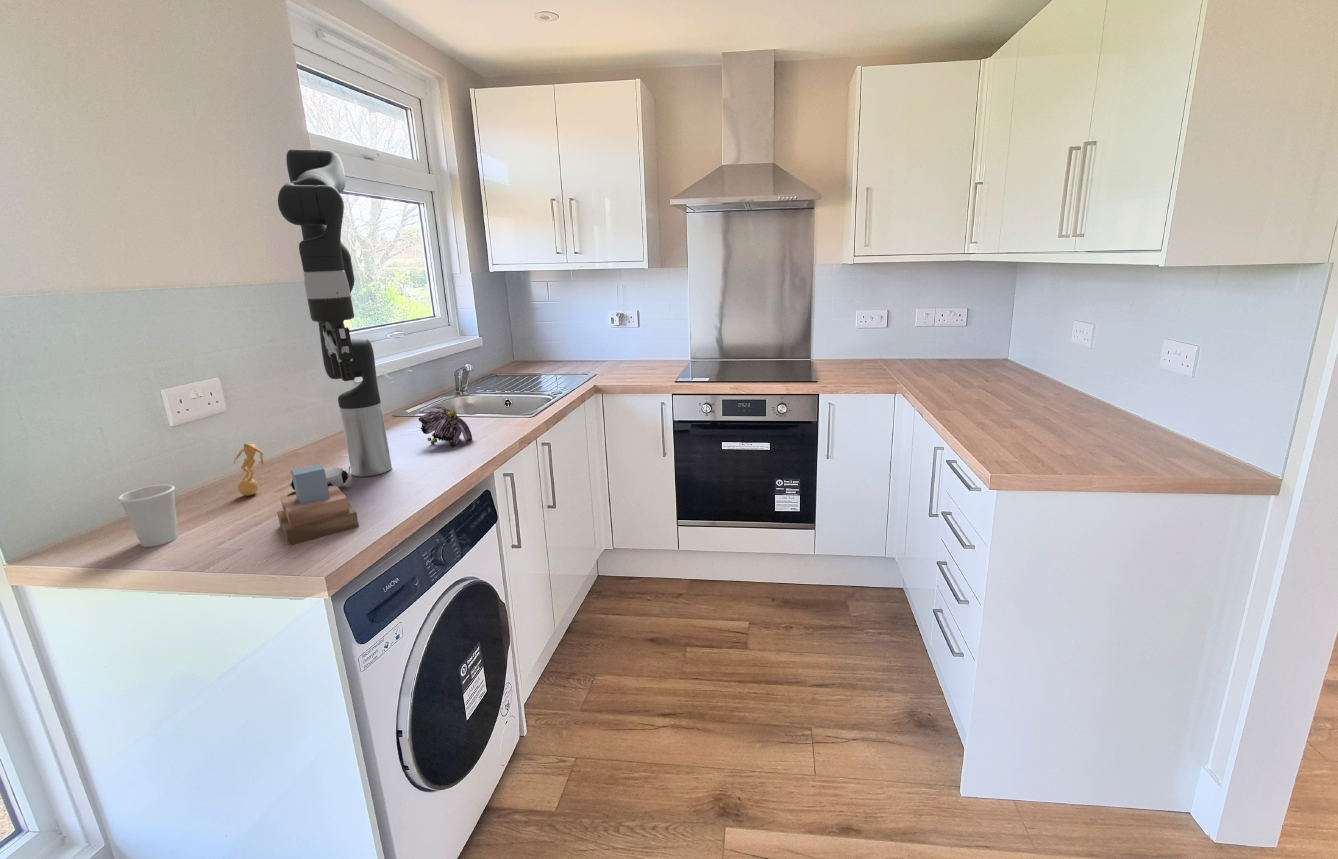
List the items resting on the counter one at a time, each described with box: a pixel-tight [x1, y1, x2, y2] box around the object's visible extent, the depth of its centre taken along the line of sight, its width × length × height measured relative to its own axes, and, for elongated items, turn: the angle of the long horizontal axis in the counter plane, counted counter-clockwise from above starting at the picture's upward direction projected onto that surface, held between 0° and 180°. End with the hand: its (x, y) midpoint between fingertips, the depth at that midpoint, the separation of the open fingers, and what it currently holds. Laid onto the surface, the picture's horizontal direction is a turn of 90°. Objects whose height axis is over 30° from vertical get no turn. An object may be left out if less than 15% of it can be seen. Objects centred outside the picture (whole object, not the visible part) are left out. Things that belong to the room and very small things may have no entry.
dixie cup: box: [117, 484, 179, 548], centre depth 117 cm, size 8×8×10 cm
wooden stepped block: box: [276, 485, 360, 546], centre depth 121 cm, size 12×12×6 cm
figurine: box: [233, 442, 264, 497], centre depth 141 cm, size 8×6×12 cm
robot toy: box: [286, 465, 351, 497], centre depth 139 cm, size 12×4×15 cm
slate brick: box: [290, 462, 330, 505], centre depth 120 cm, size 5×5×6 cm
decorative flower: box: [418, 406, 473, 448], centre depth 176 cm, size 15×12×15 cm
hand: (344, 377), depth 123 cm, fingers open, 8 cm apart
